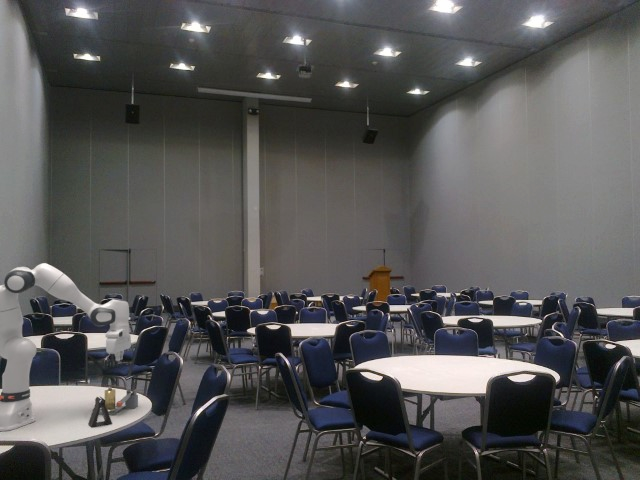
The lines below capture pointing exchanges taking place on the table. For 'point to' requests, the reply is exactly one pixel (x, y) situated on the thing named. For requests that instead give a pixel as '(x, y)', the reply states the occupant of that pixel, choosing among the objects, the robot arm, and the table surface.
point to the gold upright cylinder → (110, 398)
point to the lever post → (132, 400)
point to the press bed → (114, 411)
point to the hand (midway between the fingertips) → (119, 360)
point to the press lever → (125, 399)
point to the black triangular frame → (95, 414)
